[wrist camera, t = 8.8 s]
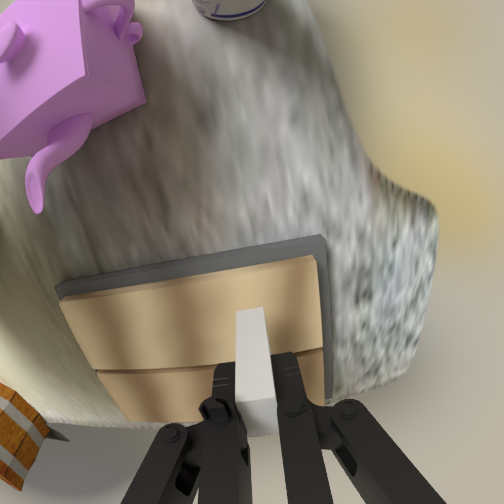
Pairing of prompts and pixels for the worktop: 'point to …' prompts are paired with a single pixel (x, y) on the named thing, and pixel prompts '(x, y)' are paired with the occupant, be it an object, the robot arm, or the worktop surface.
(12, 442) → the mug
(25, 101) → the teapot
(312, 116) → the worktop surface
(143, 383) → the laid plank
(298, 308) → the plank
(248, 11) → the energy drink
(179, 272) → the underlay
